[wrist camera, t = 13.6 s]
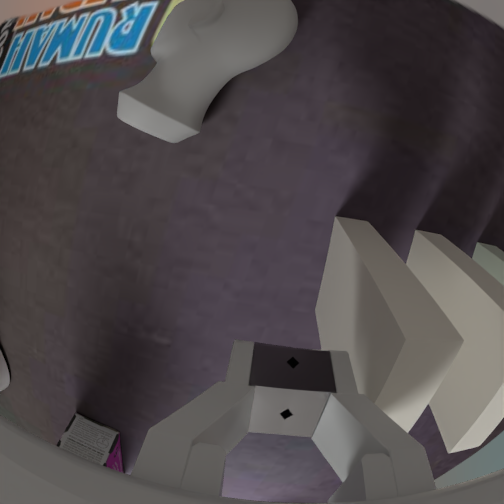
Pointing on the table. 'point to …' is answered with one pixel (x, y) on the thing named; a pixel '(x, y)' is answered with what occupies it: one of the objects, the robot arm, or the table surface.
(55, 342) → the table surface
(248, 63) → the smooth white sculpture
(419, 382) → the domino
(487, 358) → the domino
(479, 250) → the domino
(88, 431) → the candy bar box
